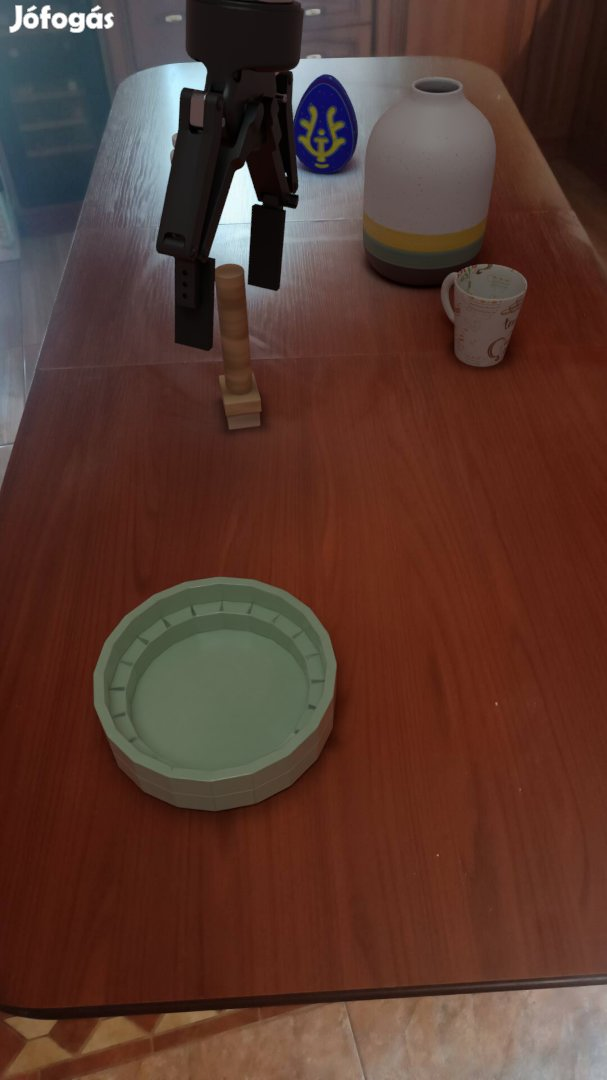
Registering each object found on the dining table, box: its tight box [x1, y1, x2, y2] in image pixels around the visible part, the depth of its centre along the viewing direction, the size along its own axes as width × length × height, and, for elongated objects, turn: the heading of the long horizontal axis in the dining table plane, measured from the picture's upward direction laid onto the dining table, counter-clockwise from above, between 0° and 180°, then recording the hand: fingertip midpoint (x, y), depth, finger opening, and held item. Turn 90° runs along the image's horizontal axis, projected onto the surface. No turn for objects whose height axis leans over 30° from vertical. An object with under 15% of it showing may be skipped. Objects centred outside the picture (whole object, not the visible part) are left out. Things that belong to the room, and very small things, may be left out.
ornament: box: [293, 73, 359, 175], centre depth 135 cm, size 11×9×15 cm
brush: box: [215, 263, 262, 431], centre depth 86 cm, size 6×4×18 cm
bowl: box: [92, 576, 338, 812], centre depth 64 cm, size 19×19×6 cm
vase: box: [362, 76, 497, 287], centre depth 107 cm, size 17×17×24 cm
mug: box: [440, 263, 528, 368], centre depth 98 cm, size 8×13×10 cm, turn 33°
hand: (231, 314), depth 64 cm, fingers open, 13 cm apart
